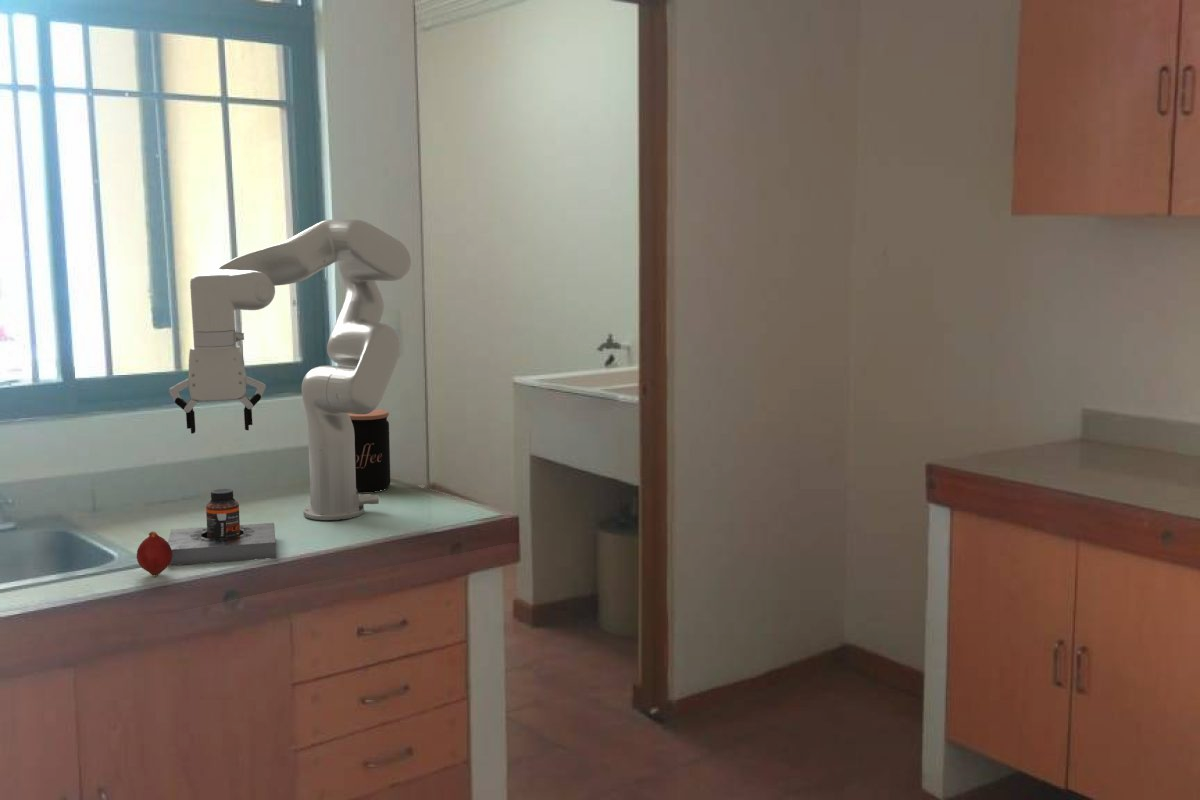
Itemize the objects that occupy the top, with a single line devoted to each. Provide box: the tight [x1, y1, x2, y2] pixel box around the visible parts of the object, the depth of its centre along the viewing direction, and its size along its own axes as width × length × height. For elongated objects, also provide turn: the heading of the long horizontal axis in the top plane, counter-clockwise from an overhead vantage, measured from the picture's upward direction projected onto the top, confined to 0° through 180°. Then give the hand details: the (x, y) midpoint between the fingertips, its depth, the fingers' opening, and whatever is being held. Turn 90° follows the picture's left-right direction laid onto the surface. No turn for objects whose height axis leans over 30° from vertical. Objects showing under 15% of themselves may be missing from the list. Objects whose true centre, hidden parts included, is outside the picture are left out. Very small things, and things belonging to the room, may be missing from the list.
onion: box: [136, 530, 172, 577], centre depth 206 cm, size 6×6×8 cm
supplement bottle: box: [205, 488, 241, 539], centre depth 223 cm, size 6×6×11 cm
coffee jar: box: [348, 408, 391, 493], centre depth 274 cm, size 11×11×18 cm
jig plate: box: [167, 522, 277, 567], centre depth 222 cm, size 19×15×3 cm
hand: (220, 430), depth 222 cm, fingers open, 9 cm apart
